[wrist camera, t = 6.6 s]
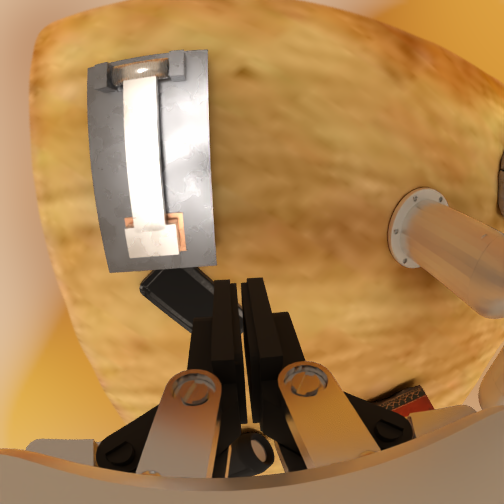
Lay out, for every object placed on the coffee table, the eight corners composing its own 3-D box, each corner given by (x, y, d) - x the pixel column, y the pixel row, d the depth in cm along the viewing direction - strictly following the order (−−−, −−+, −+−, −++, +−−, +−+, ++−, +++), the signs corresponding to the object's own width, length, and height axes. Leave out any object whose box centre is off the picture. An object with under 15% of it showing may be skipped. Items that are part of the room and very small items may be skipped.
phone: (175, 250, 34) (256, 321, 39) (176, 246, 35) (255, 317, 40) (135, 289, 35) (216, 352, 41) (137, 285, 36) (215, 347, 42)
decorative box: (419, 370, 55) (453, 416, 40) (403, 422, 63) (426, 463, 47) (342, 397, 55) (366, 455, 39) (337, 445, 62) (354, 492, 47)
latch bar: (118, 68, 20) (111, 64, 19) (169, 60, 21) (166, 55, 19) (133, 251, 28) (128, 259, 26) (180, 248, 28) (178, 256, 26)
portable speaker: (244, 422, 51) (251, 463, 42) (272, 436, 55) (281, 472, 45) (164, 456, 54) (163, 490, 45) (193, 468, 58) (195, 499, 49)
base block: (104, 76, 25) (75, 62, 17) (207, 61, 26) (207, 40, 19) (121, 254, 33) (101, 286, 26) (215, 247, 35) (217, 278, 28)
